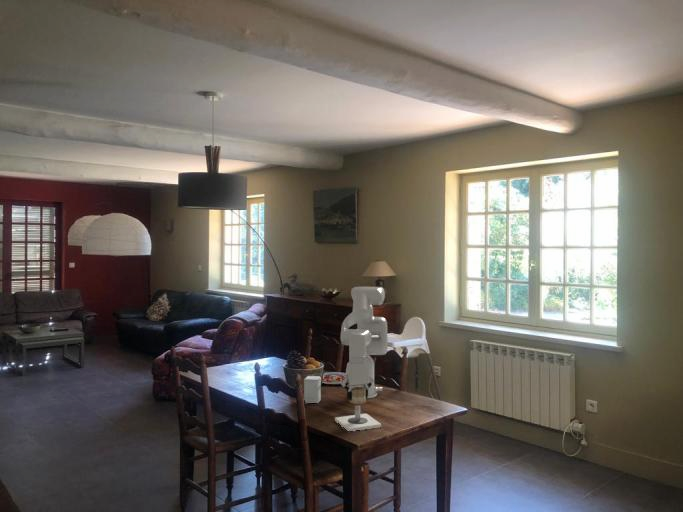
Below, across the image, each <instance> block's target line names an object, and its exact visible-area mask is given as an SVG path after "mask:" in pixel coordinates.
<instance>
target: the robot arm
mask: <svg viewBox="0 0 683 512" xmlns="http://www.w3.org/2000/svg"><path fill="white" fill-rule="evenodd" d="M350 293H351V294H350V295H351V298H352V300H353V304H352V312H351V313H349V314H348V315H347V316H346V317H345V318H344V320H343V321H342V323H341V328H340V329H341V331H340V341H341V344H342V345H344V346H348V347H349V349H348V351H349V352H348V355H349V356H348V357H349V361H348V362H347V364H346V368H345V373H346V378H345V379H344V380H343V381H342V382H341V384H340V385H341V386H342V387H343V388H344V389H345V390H346V397H347V399H348V400H350V401H351V400H352V392H351V389H352V387H353V386H362V387H365V388H366V400H367V399H373V398H375V397H377V396H378V392H382V391H383V387H382V386H380V387H379V386H375V362H374V359H373V358H372V356H385V355H386V354H387V352H388V344H389V341H388V321H387V319H386V318H385V317H382V316H374V307H373V306H382V304H383V303H384V301H385V298H386V297H385V295H386V293H385V289H384V288H383V287H382V286H354V287H353V288H351V291H350ZM353 325H357V328H355V329H354V328H350V327H352V326H353ZM346 384H347V385H346ZM350 401H349V402H350Z"/></svg>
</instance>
